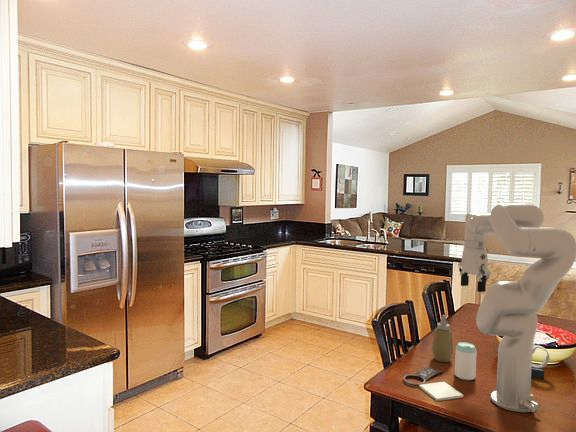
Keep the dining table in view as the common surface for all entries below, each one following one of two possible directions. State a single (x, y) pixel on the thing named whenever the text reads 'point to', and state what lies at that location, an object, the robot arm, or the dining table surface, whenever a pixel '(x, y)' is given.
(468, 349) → the can
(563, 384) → the dining table surface
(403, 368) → the dining table surface
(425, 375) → the keychain
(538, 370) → the watch
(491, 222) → the robot arm
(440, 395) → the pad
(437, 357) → the squeeze bottle
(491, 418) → the dining table surface
